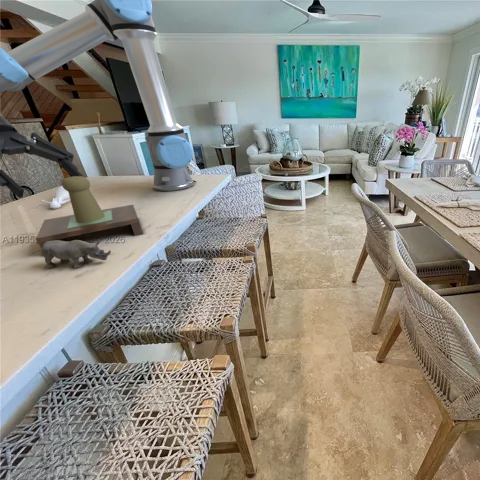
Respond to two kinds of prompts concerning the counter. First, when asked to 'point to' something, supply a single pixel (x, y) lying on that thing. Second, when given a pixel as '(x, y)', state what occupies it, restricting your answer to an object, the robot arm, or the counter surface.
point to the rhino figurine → (72, 252)
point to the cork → (82, 199)
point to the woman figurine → (59, 198)
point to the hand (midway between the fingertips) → (54, 186)
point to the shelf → (88, 224)
